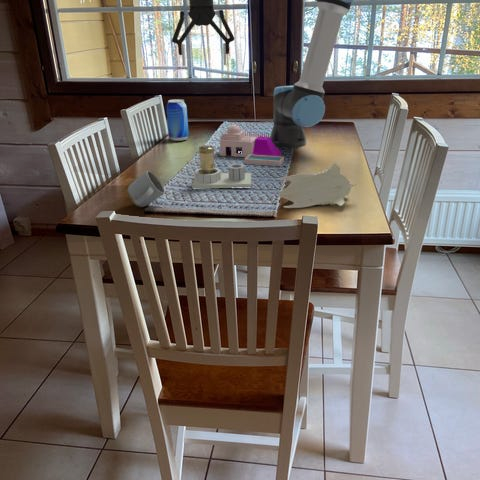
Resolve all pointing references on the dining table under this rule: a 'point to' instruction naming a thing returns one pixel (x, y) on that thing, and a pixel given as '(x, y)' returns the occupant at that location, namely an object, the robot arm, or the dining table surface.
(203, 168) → the cylinder
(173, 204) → the dining table surface
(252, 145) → the model house
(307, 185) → the beige lumpy piece
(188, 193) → the dining table surface
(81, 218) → the dining table surface
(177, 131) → the beer can
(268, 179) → the dining table surface
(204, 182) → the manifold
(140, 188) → the ceramic mug
